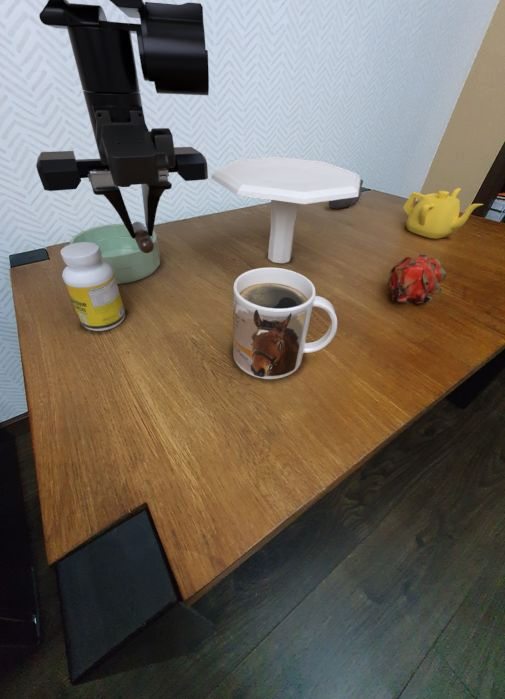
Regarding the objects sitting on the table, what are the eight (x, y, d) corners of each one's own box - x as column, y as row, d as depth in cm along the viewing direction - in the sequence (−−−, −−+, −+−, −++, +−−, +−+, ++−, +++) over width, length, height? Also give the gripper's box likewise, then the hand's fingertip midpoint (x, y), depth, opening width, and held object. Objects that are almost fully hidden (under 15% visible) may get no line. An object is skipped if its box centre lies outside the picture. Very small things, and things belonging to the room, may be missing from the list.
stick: (141, 256, 41) (138, 241, 40) (131, 234, 46) (128, 220, 45) (156, 254, 42) (153, 239, 40) (145, 232, 47) (142, 219, 45)
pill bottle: (82, 312, 49) (54, 241, 42) (125, 305, 51) (105, 236, 44) (81, 336, 45) (49, 263, 37) (127, 328, 47) (106, 256, 39)
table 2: (366, 257, 69) (392, 173, 58) (298, 310, 52) (315, 207, 41) (267, 224, 81) (272, 150, 70) (186, 258, 65) (177, 169, 54)
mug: (265, 322, 49) (271, 257, 42) (331, 358, 44) (351, 291, 36) (218, 355, 43) (215, 286, 36) (287, 401, 38) (300, 331, 30)
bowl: (82, 292, 54) (71, 262, 50) (77, 255, 64) (67, 229, 60) (169, 276, 59) (164, 248, 55) (151, 245, 69) (147, 220, 65)
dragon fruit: (424, 295, 61) (389, 324, 56) (400, 259, 61) (363, 286, 56) (466, 275, 53) (429, 308, 48) (438, 235, 53) (398, 263, 48)
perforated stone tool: (334, 213, 90) (339, 187, 85) (320, 208, 93) (324, 183, 88) (363, 204, 97) (369, 180, 93) (349, 200, 100) (354, 176, 96)
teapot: (464, 244, 77) (486, 202, 70) (409, 239, 77) (426, 197, 71) (443, 224, 87) (461, 185, 80) (395, 220, 88) (409, 182, 81)
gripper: (-1, 95, 24) (70, 274, 35) (221, 99, 31) (224, 250, 41) (12, 87, 32) (67, 237, 42) (189, 92, 38) (199, 221, 48)
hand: (141, 236), depth 43 cm, fingers closed on stick, 2 cm apart
